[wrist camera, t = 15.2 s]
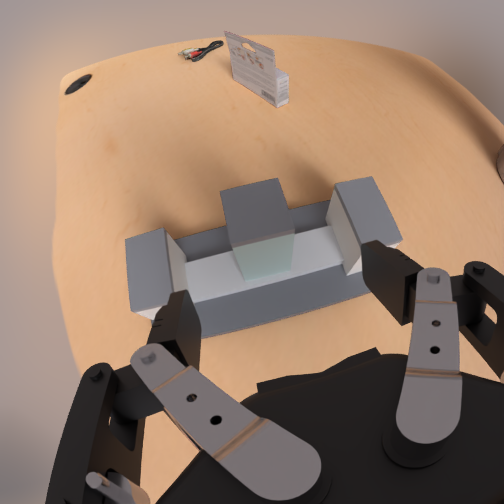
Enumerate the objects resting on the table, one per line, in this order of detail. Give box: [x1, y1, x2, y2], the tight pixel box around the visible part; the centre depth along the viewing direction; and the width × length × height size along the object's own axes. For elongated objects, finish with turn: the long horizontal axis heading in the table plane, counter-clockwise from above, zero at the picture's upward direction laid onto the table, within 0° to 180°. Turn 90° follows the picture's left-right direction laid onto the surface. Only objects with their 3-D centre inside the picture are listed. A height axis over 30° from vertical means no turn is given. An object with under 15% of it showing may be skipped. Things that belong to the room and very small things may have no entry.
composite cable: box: [178, 41, 223, 62], centre depth 44 cm, size 10×5×2 cm, turn 126°
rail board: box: [125, 176, 403, 339], centre depth 24 cm, size 23×10×7 cm, turn 104°
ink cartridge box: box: [224, 31, 289, 108], centre depth 33 cm, size 2×11×10 cm, turn 37°
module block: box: [220, 178, 295, 281], centre depth 22 cm, size 4×4×8 cm
